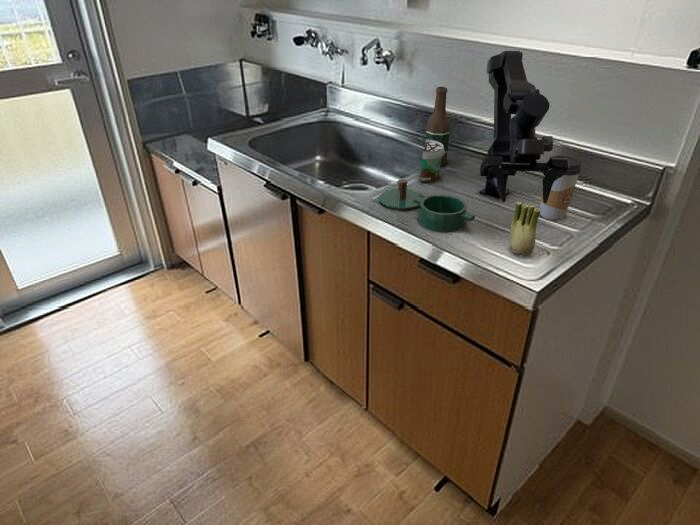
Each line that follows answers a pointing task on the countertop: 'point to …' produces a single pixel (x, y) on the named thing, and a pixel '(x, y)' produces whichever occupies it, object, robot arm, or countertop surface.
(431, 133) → the beer bottle
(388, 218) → the countertop surface
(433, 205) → the pot
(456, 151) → the countertop surface
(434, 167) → the green food package
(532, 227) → the fennel bulb
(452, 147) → the countertop surface
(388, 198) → the lid
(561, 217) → the coffee cup
